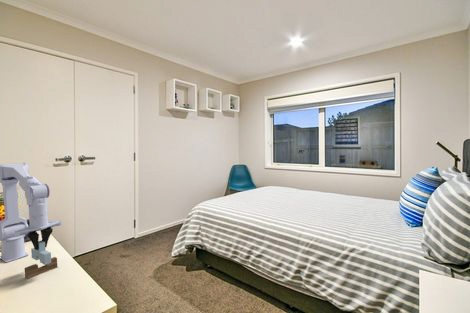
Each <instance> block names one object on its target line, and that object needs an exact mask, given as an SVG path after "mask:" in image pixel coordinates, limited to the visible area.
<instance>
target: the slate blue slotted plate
mask: <svg viewBox="0 0 470 313" xmlns="http://www.w3.org/2000/svg"><path fill="white" fill-rule="evenodd" d="M38 243H39V250H35V249H34V247H31V248H30V249H31V251H30V252H31V259H32V260H35V261H39V263H41V264H42V265H43V266H44V265H46V264H49V263H51V258H52V252H50V251H48V250H46V247H45V242H44V241H42V239H40V240H38Z"/></svg>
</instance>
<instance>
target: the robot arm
mask: <svg viewBox="0 0 470 313" xmlns="http://www.w3.org/2000/svg"><path fill="white" fill-rule="evenodd" d="M29 172H30V170H29V164H27V162H21V163H20V162H18V163H0V184H1V185H2V186H1V187H2V193H3V194H2V195H3V196H2V197H3V206H4V208H3V210H4V218H3V219H2V220H0V253H1V254H0V257H1V258H0V260H1V259H2V260H1V261H3V262H4V263H9V262H12V261H14V260H17V259H21V258H24V257H27V256H29V253H27V252H26V251H25V242H24V237H25V234H26V235H27V236H28V237H29V239H30V240H31V241H30V242H31V243H32V245H33V248H34V249H35V250H39V243H38V241H40V240H39V237H40V235H41V240H42V241H44V242H45V248H47V246H48V244H49V243H48V241H49V239H50V237H51V235H52V233H53V229H54V228H55V227H60V226H62V221H61V220H59V219H58V220H53V221H49V214H48V212H49V211H48V198H49V197H50V194H51V193H50V192H51V191H50V187H49V185H48V184H47V183H41V182H40V181H39V180H38V178H36V177H35V176H34V175H30V174H29ZM18 186H19V187H20V188H21V189H22V190H23V192H24V195H25V196H24V197H25V199H26V205H28V217H29V222H30V227H28V224H27V220H28V219H26V218H25V217H23V216H20V208H19V196H18V195H19V194H18V193H19V192H18ZM38 232H40V234H39V233H38Z"/></svg>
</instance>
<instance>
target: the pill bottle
mask: <svg viewBox="0 0 470 313" xmlns="http://www.w3.org/2000/svg"><path fill="white" fill-rule="evenodd" d="M26 220H27V224H28V227H30V222H29V219H26ZM28 242H31V240H30V239H29V237H28V236H27V235H26V234H25V237H24V243H28Z"/></svg>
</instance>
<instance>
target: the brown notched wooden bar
mask: <svg viewBox="0 0 470 313" xmlns="http://www.w3.org/2000/svg"><path fill="white" fill-rule="evenodd" d="M57 268H58V258H57V257H56V256H53V257H51V263H49V264H46V265H44V264H43V265H42V266H40V267H39V265H38V264H37V263H35V264H34V263H33V264H31V265H29V266H26V267H24V279H26V280H29V279H32V278H33V277H37V276H39V275H42V274H43V273H47V272H49V271H51V270H54V269H57Z"/></svg>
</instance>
